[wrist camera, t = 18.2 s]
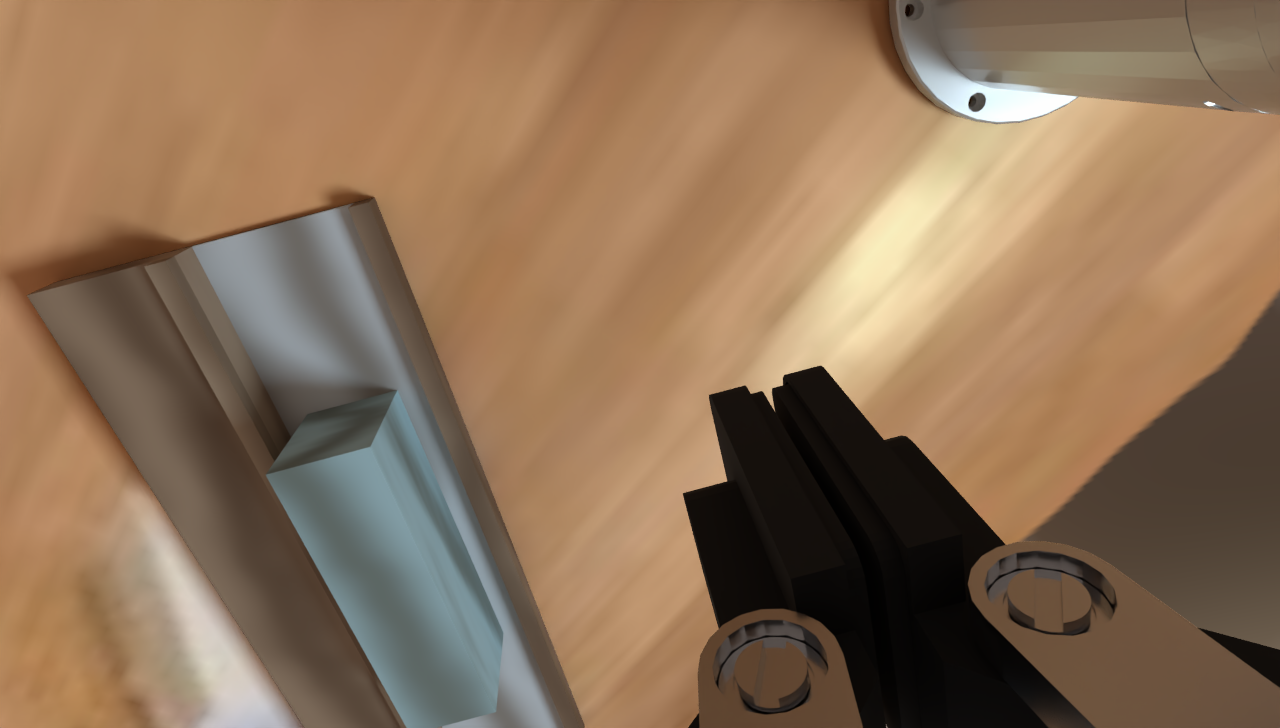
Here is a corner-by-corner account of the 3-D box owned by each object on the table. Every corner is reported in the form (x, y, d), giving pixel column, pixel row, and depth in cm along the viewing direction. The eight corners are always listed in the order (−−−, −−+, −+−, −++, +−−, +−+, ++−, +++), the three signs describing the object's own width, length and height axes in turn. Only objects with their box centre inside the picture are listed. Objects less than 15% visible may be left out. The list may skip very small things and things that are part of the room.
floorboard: (374, 197, 34) (359, 209, 32) (584, 725, 50) (585, 761, 48) (54, 282, 34) (14, 300, 32) (364, 782, 50) (354, 822, 48)
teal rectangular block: (397, 389, 38) (370, 446, 33) (503, 632, 46) (496, 712, 40) (307, 414, 38) (265, 474, 33) (428, 652, 46) (410, 734, 40)
